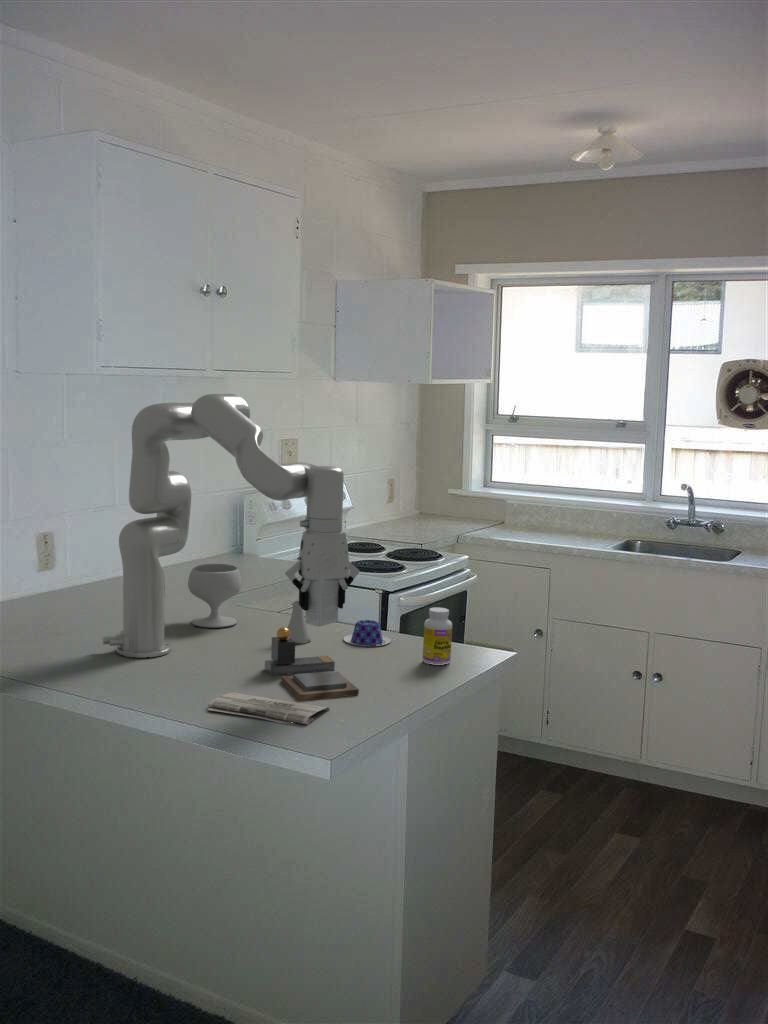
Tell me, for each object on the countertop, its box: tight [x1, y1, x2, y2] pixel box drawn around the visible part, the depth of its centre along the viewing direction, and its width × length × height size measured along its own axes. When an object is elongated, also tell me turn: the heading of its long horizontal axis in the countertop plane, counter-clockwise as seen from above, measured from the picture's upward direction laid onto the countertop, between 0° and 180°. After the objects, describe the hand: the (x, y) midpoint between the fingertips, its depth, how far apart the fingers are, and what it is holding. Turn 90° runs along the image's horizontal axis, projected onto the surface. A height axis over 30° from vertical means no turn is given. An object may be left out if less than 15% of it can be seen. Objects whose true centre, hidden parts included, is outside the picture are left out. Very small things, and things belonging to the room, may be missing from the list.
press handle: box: [270, 626, 296, 665], centre depth 227 cm, size 4×5×8 cm
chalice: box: [187, 563, 243, 629], centre depth 267 cm, size 14×14×15 cm
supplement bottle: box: [422, 607, 453, 664], centre depth 238 cm, size 7×7×13 cm
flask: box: [286, 600, 312, 644], centre depth 253 cm, size 7×7×10 cm
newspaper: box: [207, 691, 330, 725], centre depth 201 cm, size 23×12×2 cm, turn 69°
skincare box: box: [305, 571, 339, 627], centre depth 214 cm, size 6×4×12 cm
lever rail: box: [264, 655, 335, 676], centre depth 229 cm, size 15×5×2 cm, turn 112°
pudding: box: [343, 619, 391, 647], centre depth 255 cm, size 12×12×5 cm
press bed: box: [281, 670, 360, 701], centre depth 216 cm, size 13×13×2 cm
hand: (321, 607), depth 214 cm, fingers closed on skincare box, 7 cm apart
